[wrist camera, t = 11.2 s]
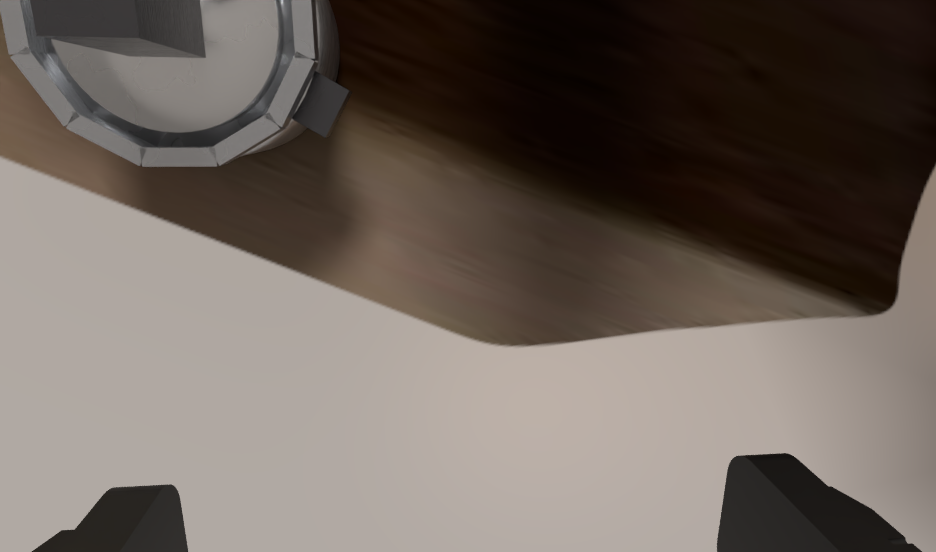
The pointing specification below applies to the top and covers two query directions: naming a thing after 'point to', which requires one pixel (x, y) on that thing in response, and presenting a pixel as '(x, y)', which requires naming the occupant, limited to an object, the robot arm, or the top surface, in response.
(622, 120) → the top surface
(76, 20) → the lid
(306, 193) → the top surface
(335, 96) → the pot
